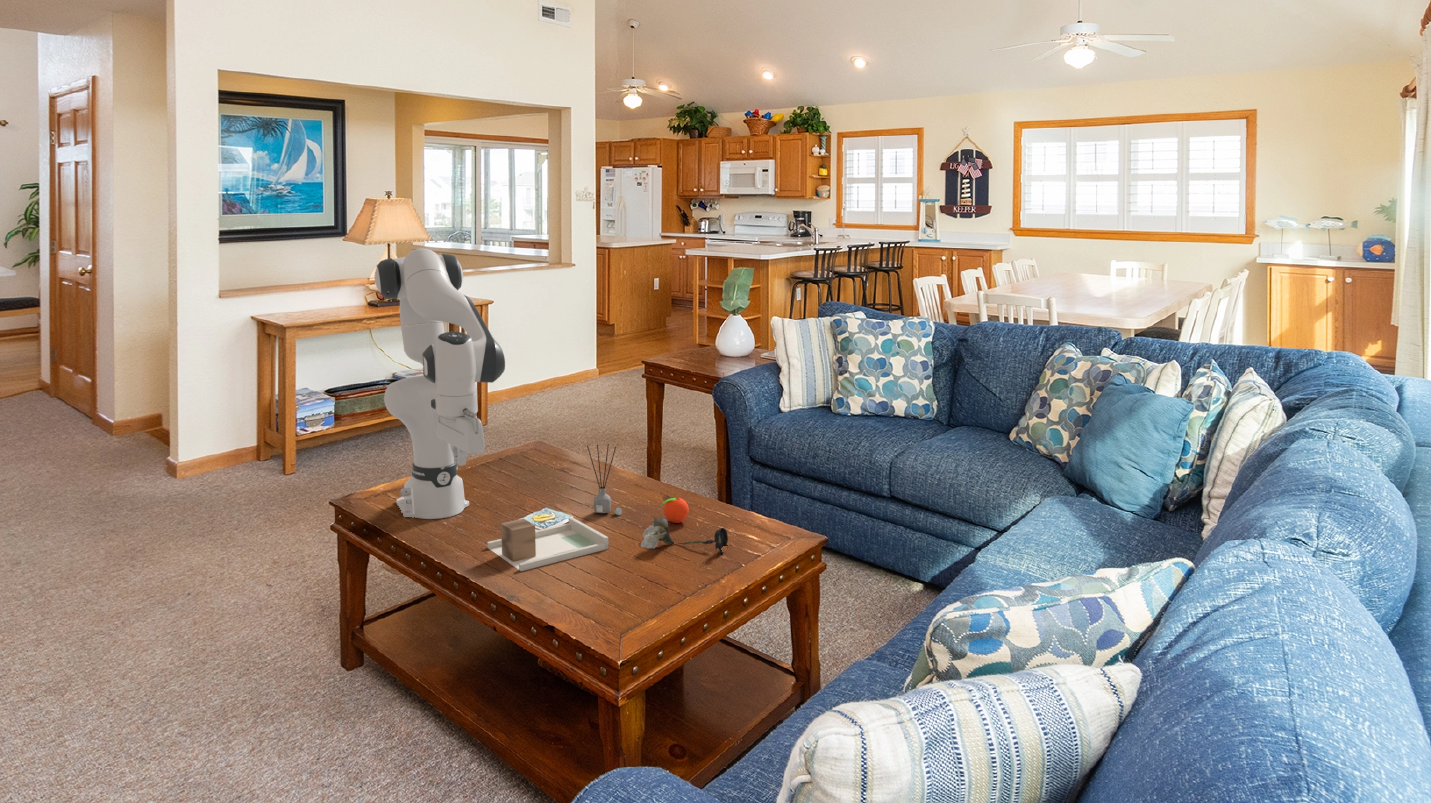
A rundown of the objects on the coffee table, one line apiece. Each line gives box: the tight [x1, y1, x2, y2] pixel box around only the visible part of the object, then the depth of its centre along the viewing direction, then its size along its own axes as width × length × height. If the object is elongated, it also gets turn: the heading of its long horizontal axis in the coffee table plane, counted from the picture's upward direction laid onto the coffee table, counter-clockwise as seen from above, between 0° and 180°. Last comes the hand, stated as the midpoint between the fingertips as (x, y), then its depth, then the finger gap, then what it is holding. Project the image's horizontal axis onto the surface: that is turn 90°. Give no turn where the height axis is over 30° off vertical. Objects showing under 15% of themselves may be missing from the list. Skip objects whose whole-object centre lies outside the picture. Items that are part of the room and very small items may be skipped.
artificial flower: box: [640, 517, 729, 553], centre depth 233 cm, size 9×22×10 cm, turn 71°
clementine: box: [660, 497, 690, 524], centre depth 252 cm, size 8×7×7 cm
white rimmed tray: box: [486, 516, 609, 572], centre depth 228 cm, size 18×24×4 cm
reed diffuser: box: [586, 443, 623, 516], centre depth 257 cm, size 10×7×20 cm
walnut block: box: [500, 517, 536, 562], centre depth 222 cm, size 6×6×8 cm
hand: (460, 464), depth 209 cm, fingers closed
